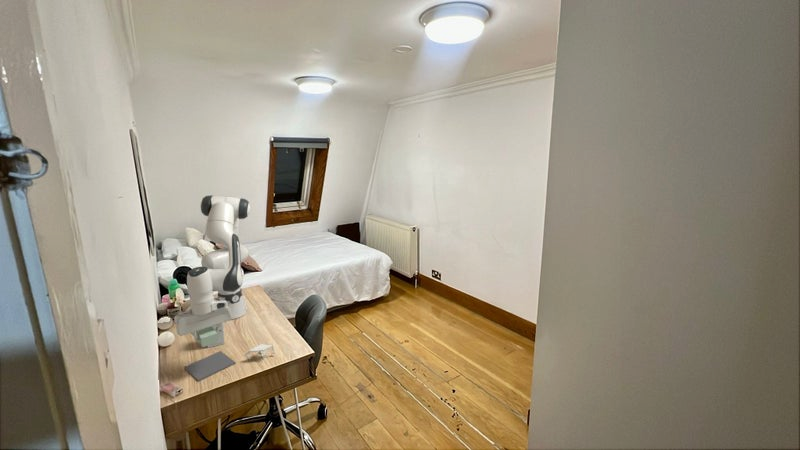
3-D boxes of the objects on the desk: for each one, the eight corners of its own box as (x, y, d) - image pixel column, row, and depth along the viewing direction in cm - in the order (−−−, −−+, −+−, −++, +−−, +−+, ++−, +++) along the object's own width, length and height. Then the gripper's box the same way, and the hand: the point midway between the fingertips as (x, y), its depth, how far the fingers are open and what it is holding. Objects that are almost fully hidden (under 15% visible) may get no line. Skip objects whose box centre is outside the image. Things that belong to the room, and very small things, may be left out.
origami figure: (270, 348, 159) (269, 339, 158) (276, 356, 152) (275, 346, 151) (243, 358, 151) (241, 348, 150) (248, 367, 145) (247, 356, 144)
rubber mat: (184, 368, 144) (184, 366, 144) (220, 352, 156) (220, 350, 155) (198, 381, 136) (198, 380, 135) (235, 363, 147) (235, 362, 147)
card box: (202, 347, 138) (201, 338, 137) (196, 338, 144) (195, 330, 143) (218, 341, 142) (217, 333, 141) (212, 333, 148) (211, 325, 147)
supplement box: (207, 348, 159) (204, 323, 156) (207, 340, 165) (204, 316, 162) (225, 344, 162) (222, 320, 159) (224, 336, 168) (222, 313, 166)
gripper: (175, 317, 131) (180, 349, 133) (231, 301, 144) (234, 330, 147) (171, 311, 135) (176, 343, 138) (226, 297, 149) (229, 325, 152)
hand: (207, 336), depth 143 cm, fingers closed on card box, 6 cm apart
